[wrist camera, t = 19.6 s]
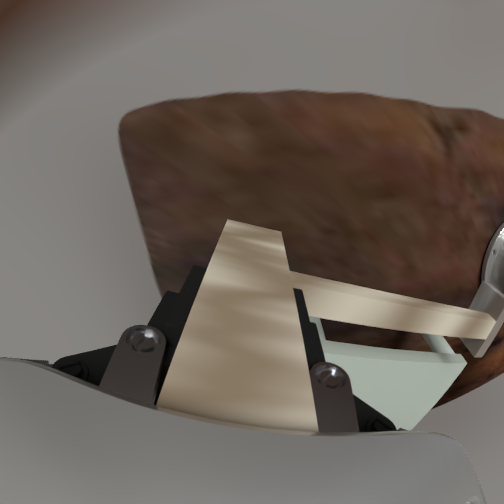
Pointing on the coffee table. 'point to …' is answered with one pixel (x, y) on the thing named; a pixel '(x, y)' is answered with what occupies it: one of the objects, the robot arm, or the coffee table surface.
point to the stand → (396, 375)
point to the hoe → (287, 332)
